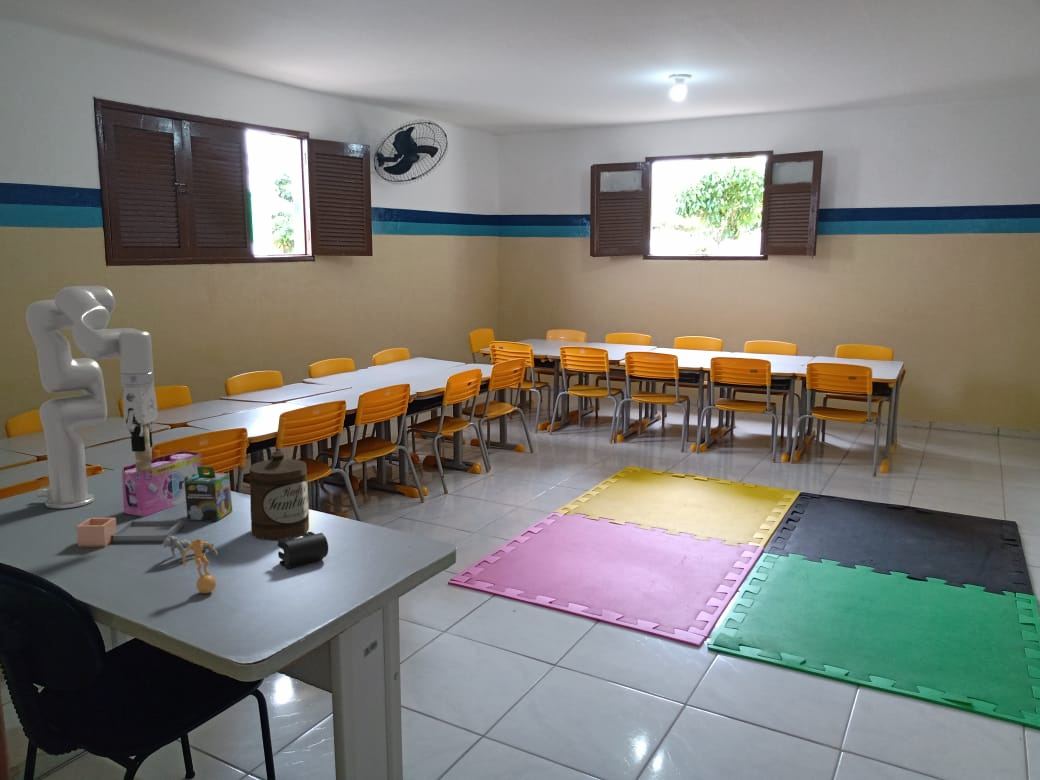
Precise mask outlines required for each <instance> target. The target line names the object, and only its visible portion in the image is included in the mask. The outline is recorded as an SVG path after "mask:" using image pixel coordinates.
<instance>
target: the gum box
mask: <svg viewBox="0 0 1040 780" xmlns="http://www.w3.org/2000/svg"><path fill="white" fill-rule="evenodd" d="M198 466H202V454H201V453H200V452H194V451H187V450H186V451H185V450H181V451H176V452H174V453H170V454H167V455H163V456H162V455H161V456H159V457H155V458H151V468H152V470H151V471H150V472H144V473H138V472H136V463H134V464H133V463H132V464H129V465H126V466H123V467H121V476H122V479H121V480H122V502H123V513H124V514H128V515H133V516H137V517H138V516H139V517H142V518H143V517H146V516H149V515H152V514H154V513H155V514H156V513H158V512H160V511H163V510H167V509H169V508H172V507H175V506H178V505H181V504H184V503H186V494H185V481H187V480H189V479H190V478H191V477H193V476H196V475H198V470H197V467H198Z"/></svg>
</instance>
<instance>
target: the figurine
mask: <svg viewBox="0 0 1040 780" xmlns="http://www.w3.org/2000/svg"><path fill="white" fill-rule="evenodd" d="M190 542H191V544H190V545H189V547H188V548H185V549H184V552H183V557H182V560H183V562H182V565H183V567H186V566H187V564H188V563H187V562H185V559H187V558H186V557H187V556H186V555H187V553H188V552H189V551H191V548H192V549H193V550H192V552H193V553H194V556H193V561H194V562H195V564H196V565H197V568H196V570H197V572H198V574H199V578H197V580H196V583H195V585H196V589H197V590H198V592H199V593H200V594H209V593H212V592H213V591H214V589H215V588H216V586H217V581H216V579H215V577H214V576H213V575H211V574H210V573H209V572H208V570H207V567H208V566H209V564H210V562H209V560H208V559H207V557H206V553H205V552H203V545H209V547H210V548H211V549H212V550H213V551H214V552H215V553H216V555H217V556H218V555H219V554H218V552H217V550H216V549H215V547H214V546H213V547H212V546H211V545H210V542H209V543H207V542H208V541H203V540H201V538H197V539H193V540H192V541H190ZM202 563H204V565H203V570H204V573H205V574H203V573H202V571H201V568H202Z"/></svg>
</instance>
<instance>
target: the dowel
mask: <svg viewBox="0 0 1040 780" xmlns="http://www.w3.org/2000/svg"><path fill="white" fill-rule="evenodd" d="M134 424H139V423H138V422H134ZM137 428H138V429H139V427H137ZM143 436H145V449H146V450H145V451H143V452H134V460H135V464H136V472H138V473H144V472H150V471H151V470H152V468H151V459H152V455H151V453H152V452H151V448H150V438H149V423H148V424H145V425H143Z"/></svg>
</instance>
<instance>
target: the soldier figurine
mask: <svg viewBox="0 0 1040 780" xmlns="http://www.w3.org/2000/svg"><path fill="white" fill-rule="evenodd" d="M191 542H192V541H190V540H189V539H186V538H185V539H180V538H178V537H177V536H175V535H174V536H170V537H168V538H166V539H165V540H164V542H162V543H163V548H167V547H168V548H170V551H171V553H172V554H171V555H172V556H173V557H176V554H175V549H177V550H178V551H179V553H180V555H181V557H182V558H183V552H184V550H185V549H186V548H188V547H189V545H190V544H191ZM206 542H207V543H210V541H206ZM210 545H211V546H212V547H213V548H214V543H213V542H212V543H210ZM190 551H193V549H192V548H191V549H190ZM202 551H208V553H209V554H212V553H213V551H214V550H212V549H211V548H210V547H209V545H203V549H202ZM185 562H186V563H187V562H188V559H187V558H186V559H185Z"/></svg>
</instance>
